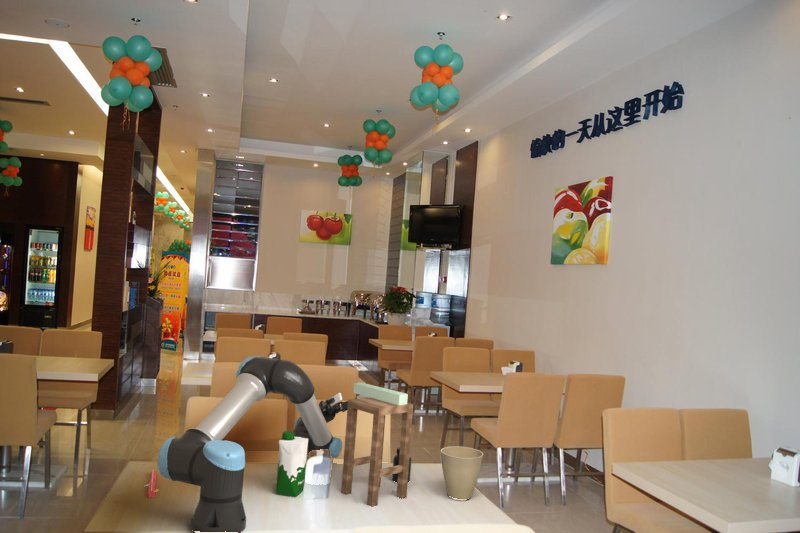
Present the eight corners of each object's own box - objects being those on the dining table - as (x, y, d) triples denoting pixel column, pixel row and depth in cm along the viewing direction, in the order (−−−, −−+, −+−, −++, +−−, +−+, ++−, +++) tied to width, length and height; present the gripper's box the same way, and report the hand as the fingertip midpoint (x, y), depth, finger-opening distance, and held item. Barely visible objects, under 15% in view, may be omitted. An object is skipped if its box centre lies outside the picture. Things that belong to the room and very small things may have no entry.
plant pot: (447, 487, 223) (450, 443, 224) (485, 496, 217) (488, 451, 217) (430, 498, 210) (434, 452, 211) (471, 508, 203) (474, 460, 204)
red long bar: (143, 501, 192) (159, 496, 193) (141, 495, 191) (157, 490, 193) (146, 477, 214) (160, 472, 216) (144, 471, 214) (158, 467, 216)
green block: (407, 404, 210) (407, 394, 210) (398, 405, 207) (399, 394, 207) (361, 392, 227) (362, 382, 227) (353, 392, 224) (354, 383, 224)
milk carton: (282, 487, 211) (286, 429, 212) (307, 490, 209) (311, 432, 210) (272, 495, 202) (276, 434, 203) (297, 498, 201) (302, 437, 201)
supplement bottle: (413, 481, 228) (415, 448, 229) (403, 485, 222) (405, 452, 223) (398, 476, 232) (400, 445, 232) (388, 480, 226) (390, 448, 227)
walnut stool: (371, 506, 198) (379, 408, 199) (341, 492, 210) (348, 399, 211) (406, 497, 209) (413, 404, 211) (375, 484, 221) (382, 396, 222)
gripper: (294, 407, 232) (325, 387, 220) (344, 403, 250) (376, 384, 237) (298, 426, 229) (330, 407, 217) (349, 420, 247) (382, 402, 234)
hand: (354, 395), depth 227 cm, fingers open, 13 cm apart
